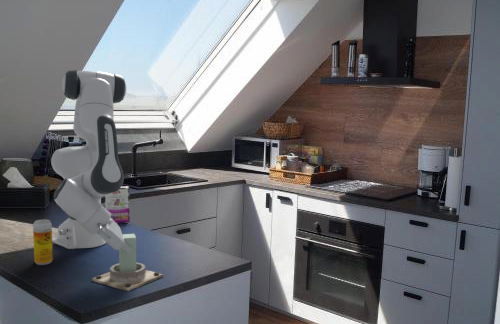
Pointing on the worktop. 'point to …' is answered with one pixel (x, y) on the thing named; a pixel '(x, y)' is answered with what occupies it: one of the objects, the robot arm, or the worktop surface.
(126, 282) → the bolt socket plate
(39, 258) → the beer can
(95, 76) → the robot arm
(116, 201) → the candy bar box
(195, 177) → the worktop surface
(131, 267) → the green peg
